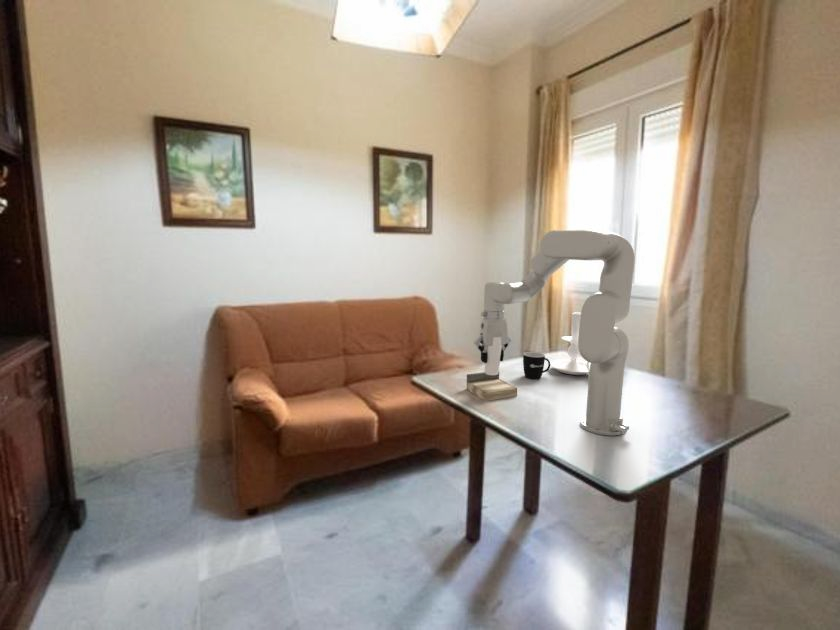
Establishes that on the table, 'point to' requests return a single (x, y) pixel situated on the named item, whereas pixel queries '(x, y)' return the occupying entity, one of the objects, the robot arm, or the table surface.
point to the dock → (489, 386)
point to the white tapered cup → (493, 357)
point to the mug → (534, 364)
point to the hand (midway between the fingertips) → (492, 360)
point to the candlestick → (572, 352)
